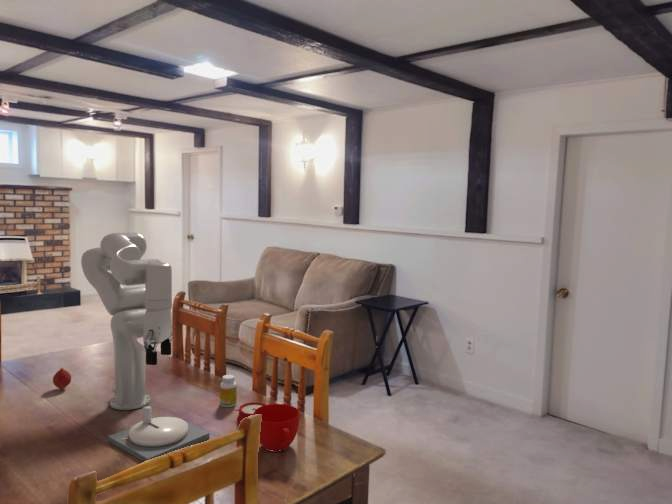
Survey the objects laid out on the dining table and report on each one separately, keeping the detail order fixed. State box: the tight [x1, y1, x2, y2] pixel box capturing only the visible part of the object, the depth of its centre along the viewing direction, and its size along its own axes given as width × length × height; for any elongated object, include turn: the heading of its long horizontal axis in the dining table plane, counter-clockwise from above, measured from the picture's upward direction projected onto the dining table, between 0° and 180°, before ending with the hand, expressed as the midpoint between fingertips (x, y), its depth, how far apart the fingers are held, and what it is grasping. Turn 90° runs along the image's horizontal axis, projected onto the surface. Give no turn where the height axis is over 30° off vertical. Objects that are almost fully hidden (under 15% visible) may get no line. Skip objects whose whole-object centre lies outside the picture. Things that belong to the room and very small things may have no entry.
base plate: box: [107, 413, 210, 462], centre depth 151 cm, size 20×20×2 cm
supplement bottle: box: [219, 374, 238, 408], centre depth 178 cm, size 5×5×10 cm
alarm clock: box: [232, 401, 266, 424], centre depth 165 cm, size 10×6×15 cm
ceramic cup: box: [253, 403, 301, 451], centre depth 147 cm, size 13×17×10 cm
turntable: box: [129, 405, 188, 447], centre depth 151 cm, size 16×16×6 cm
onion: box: [52, 367, 72, 390], centre depth 187 cm, size 6×6×8 cm
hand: (158, 359), depth 159 cm, fingers open, 9 cm apart
